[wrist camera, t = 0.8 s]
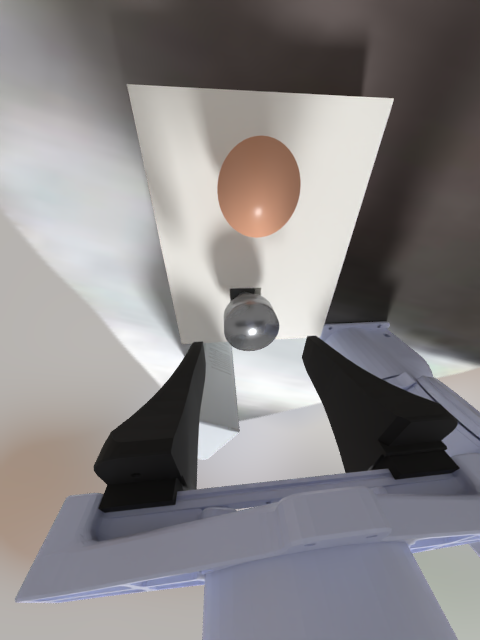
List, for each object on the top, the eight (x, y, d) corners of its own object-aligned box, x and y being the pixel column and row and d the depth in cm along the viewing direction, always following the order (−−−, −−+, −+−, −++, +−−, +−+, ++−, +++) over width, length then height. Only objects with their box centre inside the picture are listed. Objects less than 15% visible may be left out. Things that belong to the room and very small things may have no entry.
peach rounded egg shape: (279, 155, 13) (308, 136, 9) (273, 225, 16) (293, 237, 11) (216, 154, 13) (214, 133, 9) (219, 225, 15) (219, 237, 11)
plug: (268, 278, 18) (282, 304, 14) (264, 317, 21) (276, 349, 16) (222, 279, 18) (222, 306, 14) (223, 318, 20) (224, 352, 16)
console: (359, 117, 15) (393, 98, 12) (308, 320, 25) (320, 337, 22) (146, 108, 14) (126, 84, 11) (186, 325, 24) (181, 344, 21)
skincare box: (211, 369, 29) (206, 462, 19) (185, 359, 27) (164, 454, 17) (233, 342, 26) (241, 433, 16) (206, 329, 25) (196, 421, 15)
